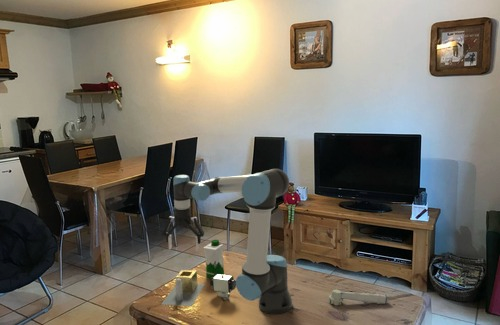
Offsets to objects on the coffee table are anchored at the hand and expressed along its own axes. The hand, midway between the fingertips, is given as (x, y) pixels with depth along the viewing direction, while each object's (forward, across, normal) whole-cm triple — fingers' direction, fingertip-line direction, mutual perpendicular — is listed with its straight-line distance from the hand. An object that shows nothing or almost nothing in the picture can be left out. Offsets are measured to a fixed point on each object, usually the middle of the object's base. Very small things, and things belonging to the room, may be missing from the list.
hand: (183, 249), depth 196 cm
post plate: (+22, -1, +6) cm, 23 cm away
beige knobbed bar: (+18, -82, +11) cm, 85 cm away
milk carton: (+22, -12, -14) cm, 29 cm away
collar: (+21, -1, +1) cm, 21 cm away
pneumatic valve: (+21, -21, +7) cm, 31 cm away
